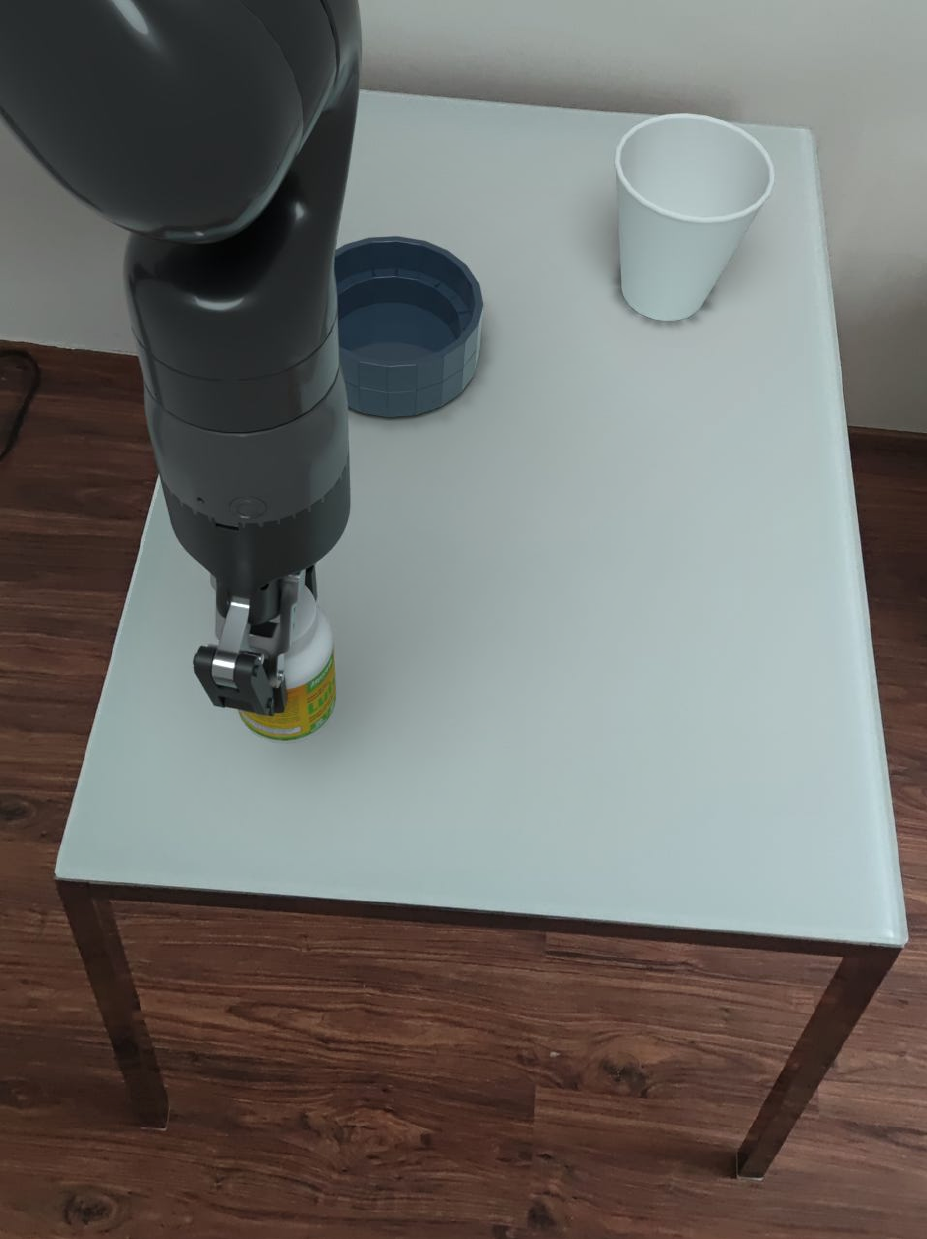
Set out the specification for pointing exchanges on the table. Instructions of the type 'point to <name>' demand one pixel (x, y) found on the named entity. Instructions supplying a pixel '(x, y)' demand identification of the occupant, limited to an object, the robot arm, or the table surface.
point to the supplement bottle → (302, 679)
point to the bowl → (405, 324)
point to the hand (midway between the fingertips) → (280, 652)
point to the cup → (684, 208)
